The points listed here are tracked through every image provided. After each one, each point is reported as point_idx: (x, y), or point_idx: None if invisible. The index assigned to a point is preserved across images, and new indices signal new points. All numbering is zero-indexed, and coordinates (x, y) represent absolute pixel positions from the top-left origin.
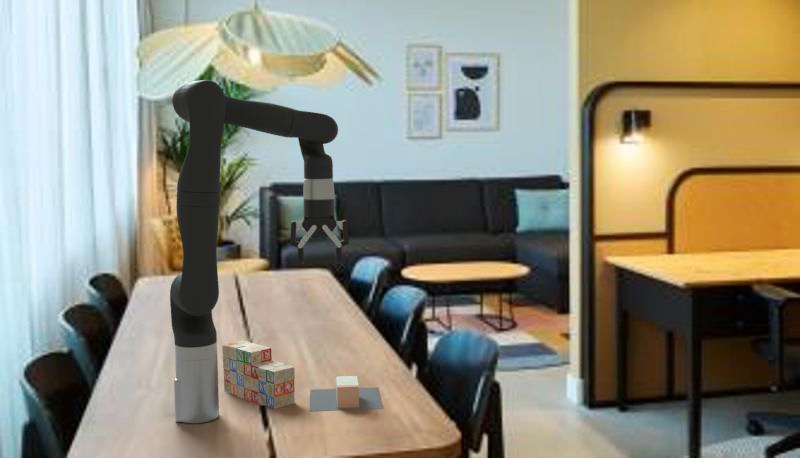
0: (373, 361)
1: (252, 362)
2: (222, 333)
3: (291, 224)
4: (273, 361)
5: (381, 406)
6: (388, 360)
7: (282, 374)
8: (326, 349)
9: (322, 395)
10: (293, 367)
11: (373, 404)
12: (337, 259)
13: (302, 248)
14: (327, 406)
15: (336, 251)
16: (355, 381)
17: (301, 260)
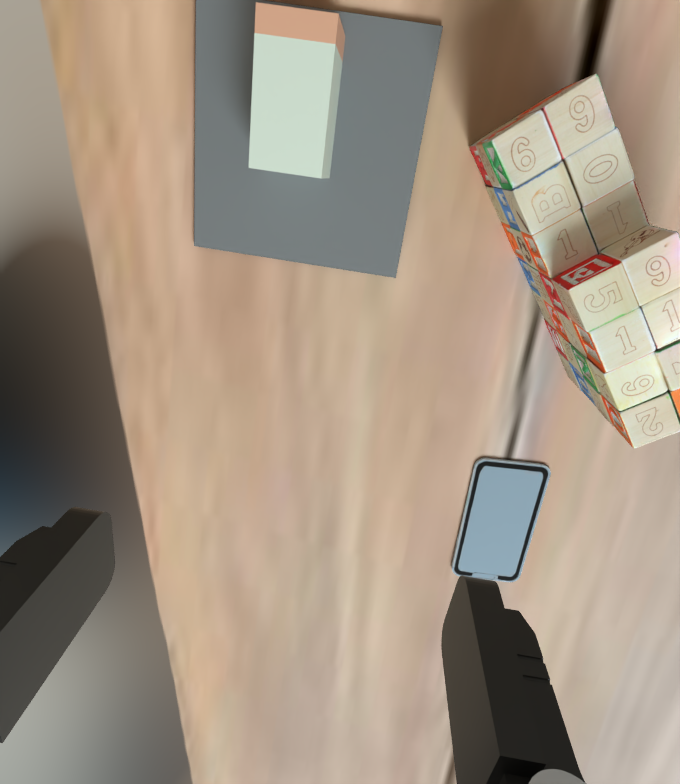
0: (190, 495)
1: (648, 228)
2: None
3: None
4: (550, 253)
5: (200, 19)
6: (151, 492)
7: (545, 104)
8: (295, 615)
9: (370, 204)
10: (495, 138)
11: (224, 52)
12: (68, 526)
13: (511, 773)
14: (374, 70)
15: (8, 610)
16: (261, 86)
17: (497, 599)
